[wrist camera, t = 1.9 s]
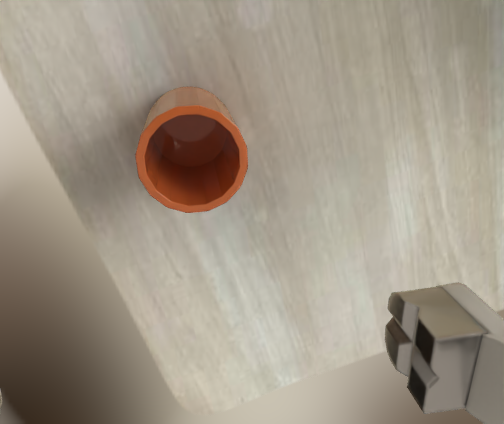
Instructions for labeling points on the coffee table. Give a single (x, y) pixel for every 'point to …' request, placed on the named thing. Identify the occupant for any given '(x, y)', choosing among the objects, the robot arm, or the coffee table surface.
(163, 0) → the coffee table surface
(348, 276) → the coffee table surface
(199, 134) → the cup
